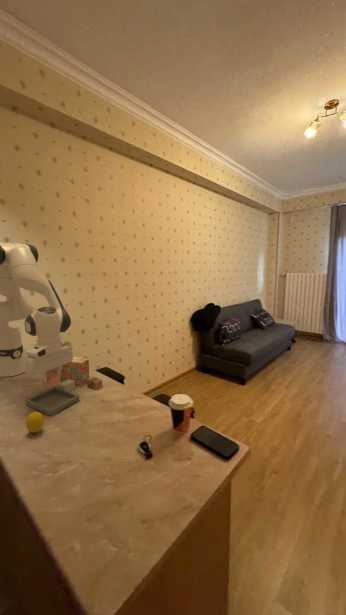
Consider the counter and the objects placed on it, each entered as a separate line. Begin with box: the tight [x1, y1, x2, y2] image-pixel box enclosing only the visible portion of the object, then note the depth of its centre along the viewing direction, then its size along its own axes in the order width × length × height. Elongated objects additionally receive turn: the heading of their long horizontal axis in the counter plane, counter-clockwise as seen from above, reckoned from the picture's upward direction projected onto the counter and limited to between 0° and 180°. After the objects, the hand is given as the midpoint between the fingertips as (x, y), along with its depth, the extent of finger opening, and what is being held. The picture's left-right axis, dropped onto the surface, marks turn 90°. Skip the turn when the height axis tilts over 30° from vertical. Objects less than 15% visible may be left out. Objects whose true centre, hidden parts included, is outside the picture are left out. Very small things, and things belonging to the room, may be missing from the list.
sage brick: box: [57, 379, 76, 392], centre depth 126 cm, size 4×6×4 cm, turn 147°
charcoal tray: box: [25, 386, 80, 418], centre depth 114 cm, size 16×14×2 cm
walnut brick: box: [86, 376, 103, 391], centre depth 129 cm, size 6×4×4 cm, turn 57°
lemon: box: [25, 411, 45, 434], centre depth 94 cm, size 6×6×8 cm
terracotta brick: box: [42, 372, 61, 388], centre depth 113 cm, size 6×4×4 cm, turn 60°
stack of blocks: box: [46, 356, 90, 387], centre depth 135 cm, size 21×6×12 cm, turn 74°
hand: (51, 378), depth 113 cm, fingers closed on terracotta brick, 4 cm apart
